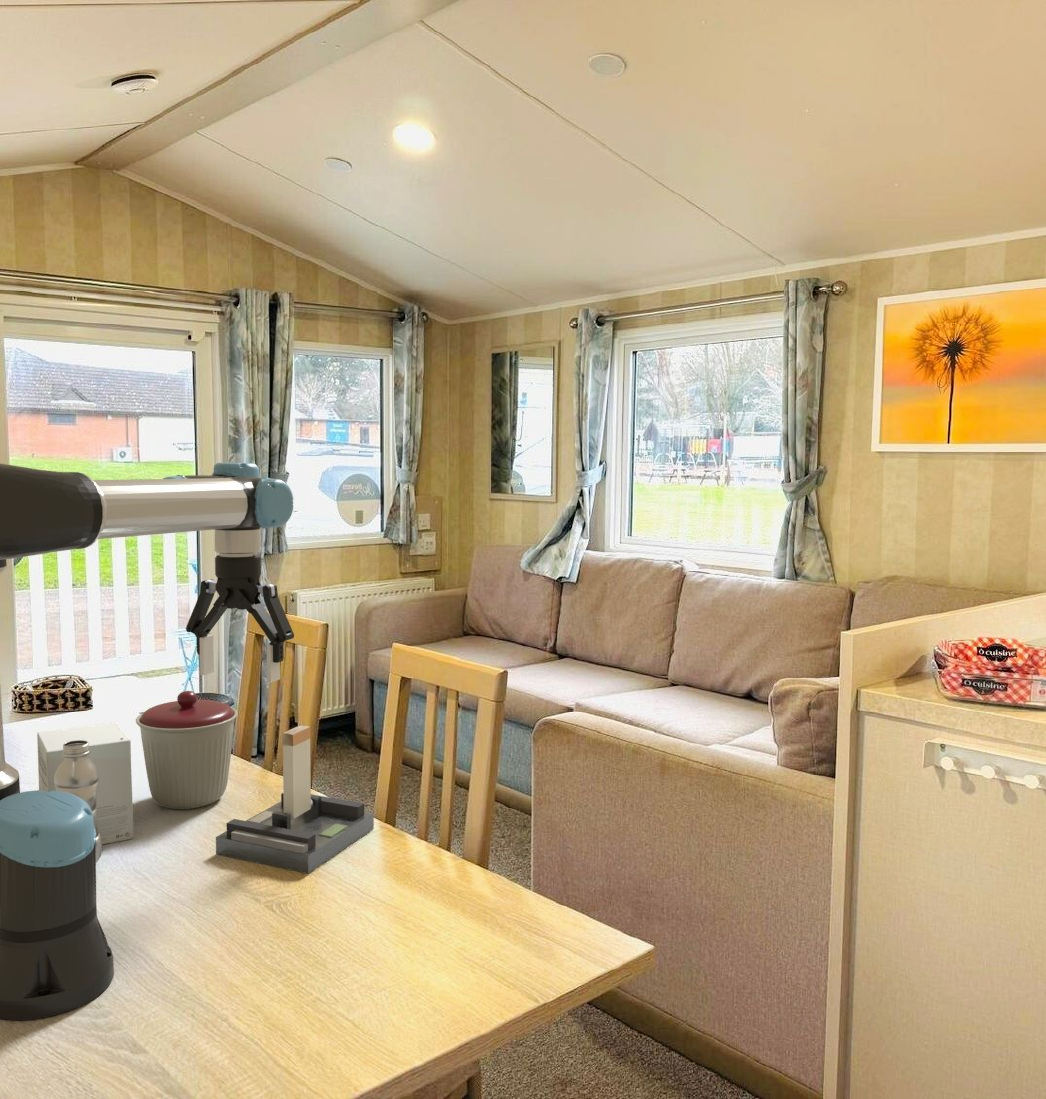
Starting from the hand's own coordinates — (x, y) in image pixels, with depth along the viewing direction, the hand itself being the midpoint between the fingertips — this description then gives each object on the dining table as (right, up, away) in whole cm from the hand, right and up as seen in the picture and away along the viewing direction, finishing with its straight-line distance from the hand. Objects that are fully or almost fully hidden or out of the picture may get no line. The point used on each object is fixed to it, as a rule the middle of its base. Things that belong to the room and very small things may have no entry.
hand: (239, 677), depth 168 cm
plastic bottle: (-22, -29, -11) cm, 38 cm away
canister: (-15, -26, +18) cm, 35 cm away
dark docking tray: (+10, -25, -1) cm, 27 cm away
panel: (+10, -28, -1) cm, 30 cm away
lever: (+10, -22, -1) cm, 25 cm away
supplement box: (-27, -27, +1) cm, 38 cm away
